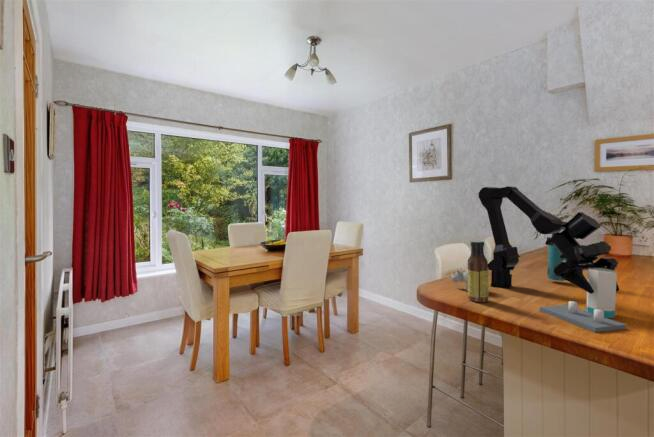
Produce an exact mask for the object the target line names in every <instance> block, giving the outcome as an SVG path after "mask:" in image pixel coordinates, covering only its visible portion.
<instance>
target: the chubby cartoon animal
mask: <svg viewBox="0 0 654 437" xmlns="http://www.w3.org/2000/svg"><path fill="white" fill-rule="evenodd" d="M450 275H451V281H452V282H453V283H458V282H461V283H462V282H463V283H464V282H465V284H466V285H465V292H468V269H466V270H465V271H464V270H462V268H459V269H456V272H455V273H453V272H451V273H450Z"/></svg>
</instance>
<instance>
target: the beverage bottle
mask: <svg viewBox="0 0 654 437" xmlns="http://www.w3.org/2000/svg"><path fill="white" fill-rule="evenodd" d="M553 235H555V234H551V237H552V236H553ZM547 254H548V255H547V278H548V279H549V280H552V281H559V282H564V281H565V282H566V280H565V279H562V278H561V277H556V275H555V274H554V272H553V268H554V267H555V266H556V265H558V264H559V263H560V262H561V261H562V260H566V259H561V258H560V256H561V255H562V254H561V253H560V251H559V250H558V249H557V248H556V246H555V245H554V246H551V245H548V253H547Z"/></svg>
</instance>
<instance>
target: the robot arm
mask: <svg viewBox="0 0 654 437" xmlns="http://www.w3.org/2000/svg"><path fill="white" fill-rule="evenodd" d="M478 199H479V201H480V204H481V205H482V206H483V207H484V209H485V210H486V211H487V217H488V221H489V224H490V228H491V232H492V237H493V240H494V249H493V252H492V254H493V255H492V256H493V259H492V260H491V261H490V262H488V271H491V273H490V274H491V277H490V278H491V282H490V285H489V286H490V287H498V288H504V289H505V288H506V289H510V288H511V287H512V283H513V274H511V271H514V270H515V267H516V266H517V264H518V263H519V261H520V259H519V258H521V256H520V254H519V252H518V247H517V246H512V244H511V243H510V240H509V236H508V232H507V228H506V224H505V220H504V216H503V213H502V212H503V211H502V208H501V207H502V205H503V199H508V200H509V201H510V203H512V204H513V205H514V206H516V207H517V209H519V210H520V211H521V212H522V213H524V215H526V216H527V217H528V218H529V220H530V223H531V225H532V226H533V228H534V229H535V230H536V232H537V233H539V234H541V235H551V237H550V236H549V237H548V236H547V237H546V240H545V243H544V244H545V246H549V245H551V246H554V245H555V246H556V248H557V249H558V250H559V251H560V253H561V254H562V255H561V256H560V258H561V259H566V260H562V261H561V262H560V263H559V264H558V265H556V266H555V267H554V268H553V272H554V274H555V275H556V277H561V278H562V279H565V281H566V282H569V283H571V284H573V285H575V286H576V287H578V288H579V289H581V290H584V291H585V292H586V293H587V292H589V293H590V294H592V293H594V290H593V289H592V287H591V285H590V284H589V282H588V279H587V278H586V276H585V275H584V272H583V271H588V268H602V269H609V270H614V271H615V269H616V268H618V267H617V266H618V265H619V264H620V263H619V262H618V261H617V260H616V259H615V258H614V257H600V258H599V257H598V256H603V255H608V254H610V251H611V250H612V249H611V248H612V246H611V245H609V244H608V242H606V241H605V240H603V241H599V242H595V243H591V244H587V245H586V244H584V245H583V244H580V243H579V241H577V240H585V239H586V238H587V237H589V236H590V235H591V234H594V232H596V231H598V230H599V229H600V228H601V225H600V223H599V221H597V219H595V218H593V217H591V216H589V215H587V214H586V213H584V212H583V211H582V212H581V211H580V212H579V211H578V212H577V213H576V214H574V216H573V217H572V218H570V220H568V221H563V220H562V219H561V218H559V217H558V216H556V215H554V214H553V213H550V212H547V211H545V210H544V209H542V208H540V207H539V206H538V205H537V204H536V203H534V201H532V200H531V199H529V198H528V197H527V195H525V194H524V193H523V192H522V191H520V190H519V189H518V187H516V186H512V185H510V186H509V185H507V186H504V187H495V186H485V187H482V188H481V189H480V190H479V191H478ZM552 234H555V235H553V236H552ZM598 258H599V259H598ZM594 261H595V262H594ZM619 291H620V286H619V284H618V282H617V280H616V293H617V292H619Z"/></svg>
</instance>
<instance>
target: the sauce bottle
mask: <svg viewBox="0 0 654 437" xmlns="http://www.w3.org/2000/svg"><path fill="white" fill-rule="evenodd" d="M484 247H485V241H483V240H471V241H470V248H471V249H470V256H469V258H468V259H467V270H468V291H467V296H468V299H469V300H470V301H471V302H474V303H487V302H489V269H488V263H489V261H488V259H487V258H486V256H485V252H484V250H485V249H484Z"/></svg>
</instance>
